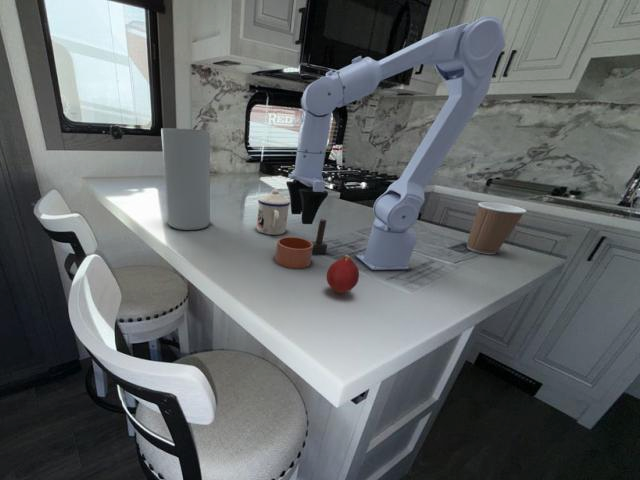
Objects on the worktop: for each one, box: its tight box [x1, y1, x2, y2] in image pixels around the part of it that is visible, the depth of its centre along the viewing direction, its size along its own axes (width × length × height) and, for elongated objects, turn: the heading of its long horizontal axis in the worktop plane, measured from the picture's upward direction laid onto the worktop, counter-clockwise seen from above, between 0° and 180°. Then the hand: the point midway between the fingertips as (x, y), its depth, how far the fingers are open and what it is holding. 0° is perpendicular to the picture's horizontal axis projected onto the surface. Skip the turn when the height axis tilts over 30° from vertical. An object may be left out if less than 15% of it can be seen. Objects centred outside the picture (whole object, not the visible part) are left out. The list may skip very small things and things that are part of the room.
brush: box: [310, 218, 328, 255], centre depth 75 cm, size 4×2×8 cm, turn 99°
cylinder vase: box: [160, 127, 211, 231], centre depth 86 cm, size 12×12×25 cm
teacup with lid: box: [256, 188, 291, 236], centre depth 87 cm, size 12×9×12 cm
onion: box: [326, 254, 360, 295], centre depth 58 cm, size 6×6×8 cm
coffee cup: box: [466, 201, 527, 255], centre depth 83 cm, size 10×10×12 cm
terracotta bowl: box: [274, 236, 313, 269], centre depth 71 cm, size 8×8×4 cm
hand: (301, 218), depth 69 cm, fingers open, 7 cm apart
